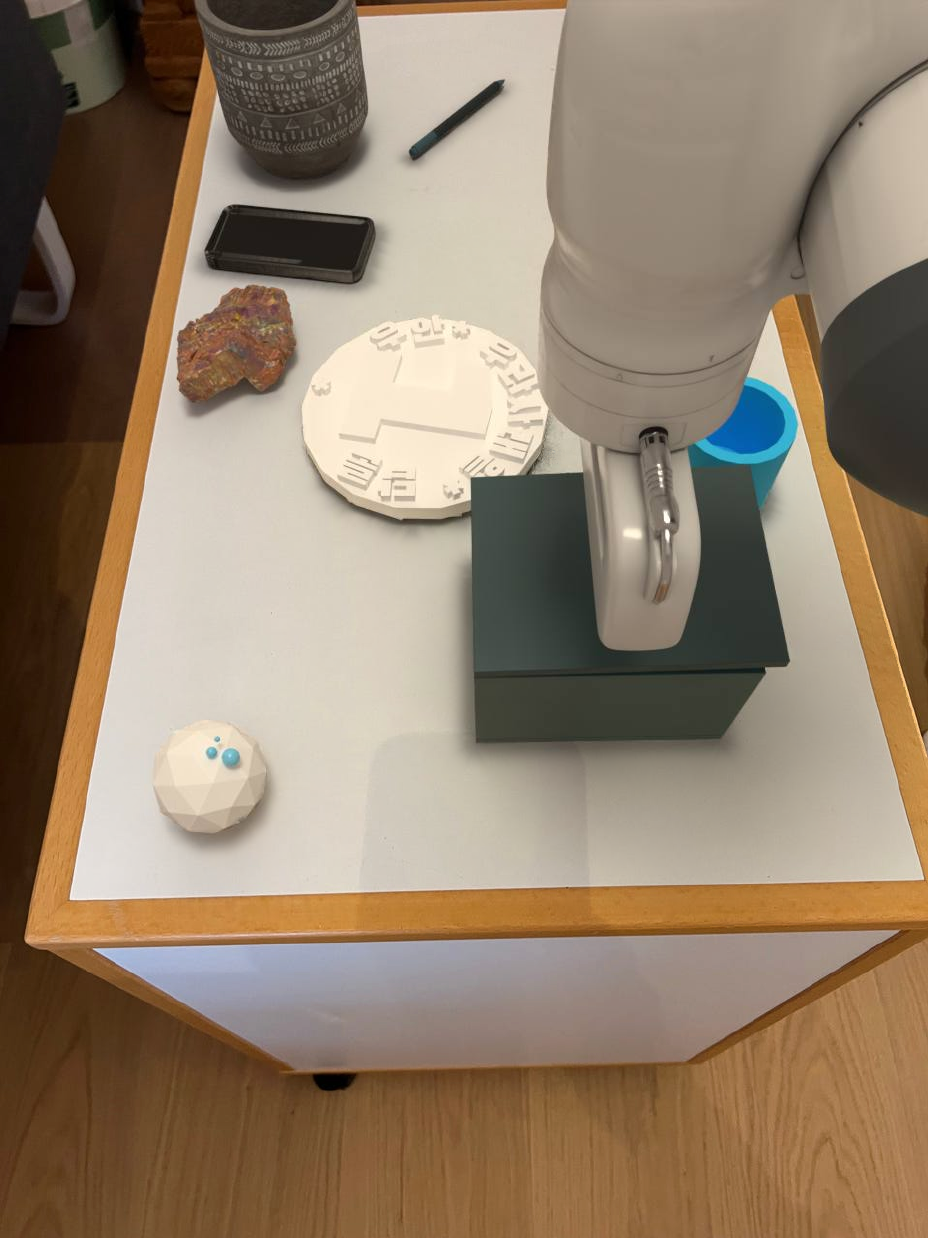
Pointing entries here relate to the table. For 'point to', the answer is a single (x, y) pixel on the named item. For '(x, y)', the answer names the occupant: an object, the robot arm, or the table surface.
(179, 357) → the mineral specimen
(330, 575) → the table surface
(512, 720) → the chest
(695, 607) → the lid
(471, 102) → the pen
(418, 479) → the giant coin
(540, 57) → the table surface
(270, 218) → the phone
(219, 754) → the ornament
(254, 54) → the planter
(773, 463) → the mug
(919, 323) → the robot arm
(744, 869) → the table surface
